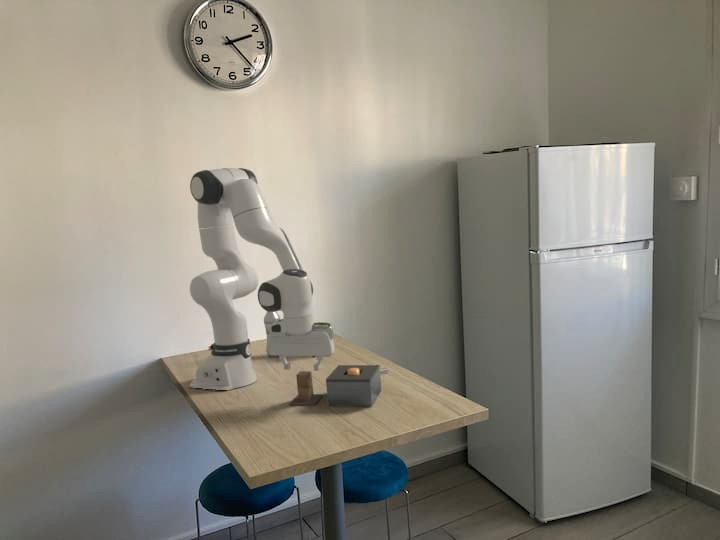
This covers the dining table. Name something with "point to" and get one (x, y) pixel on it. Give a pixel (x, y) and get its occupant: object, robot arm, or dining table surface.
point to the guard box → (353, 386)
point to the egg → (353, 371)
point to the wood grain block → (304, 386)
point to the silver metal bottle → (270, 322)
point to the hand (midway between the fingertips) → (302, 369)
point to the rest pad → (307, 403)
